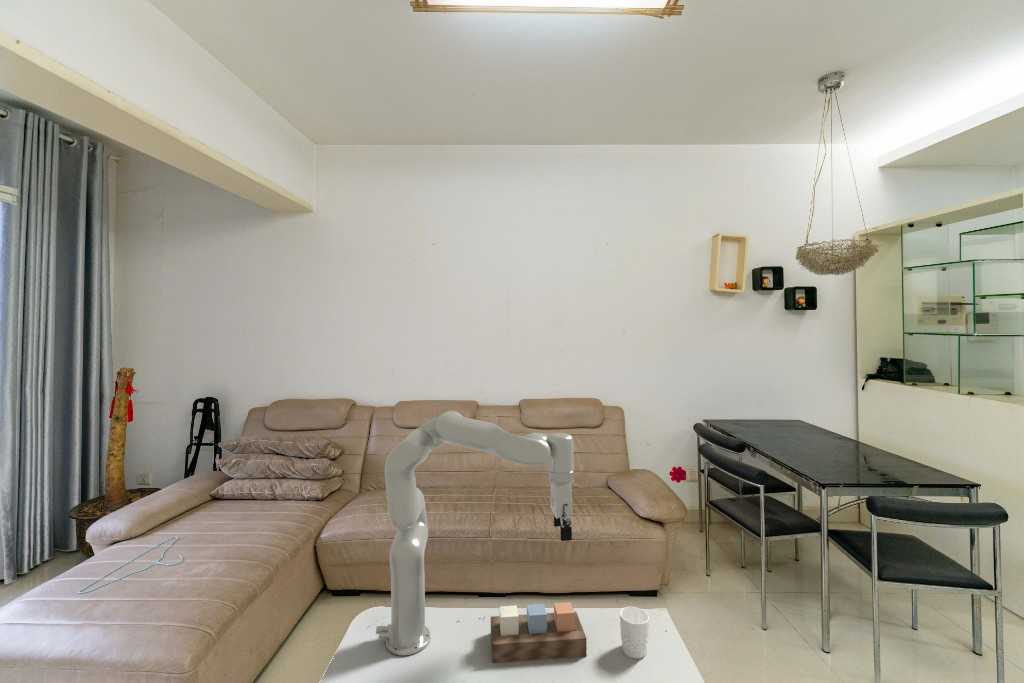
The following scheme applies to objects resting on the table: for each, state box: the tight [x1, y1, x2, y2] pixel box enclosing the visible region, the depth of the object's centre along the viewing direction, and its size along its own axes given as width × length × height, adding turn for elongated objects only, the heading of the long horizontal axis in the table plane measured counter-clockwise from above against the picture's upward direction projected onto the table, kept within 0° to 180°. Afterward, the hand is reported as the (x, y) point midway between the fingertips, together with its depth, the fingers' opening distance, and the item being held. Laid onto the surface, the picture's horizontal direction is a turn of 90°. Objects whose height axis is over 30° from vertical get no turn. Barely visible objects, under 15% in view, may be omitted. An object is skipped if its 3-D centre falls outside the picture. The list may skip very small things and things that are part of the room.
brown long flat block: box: [490, 611, 588, 664], centre depth 126 cm, size 26×12×5 cm, turn 95°
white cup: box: [619, 606, 650, 659], centre depth 123 cm, size 8×8×10 cm
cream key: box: [499, 605, 519, 636], centre depth 125 cm, size 5×5×6 cm
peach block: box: [553, 601, 575, 632], centre depth 126 cm, size 5×5×6 cm
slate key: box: [526, 603, 547, 634], centre depth 126 cm, size 5×5×6 cm
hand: (562, 532), depth 130 cm, fingers open, 9 cm apart
